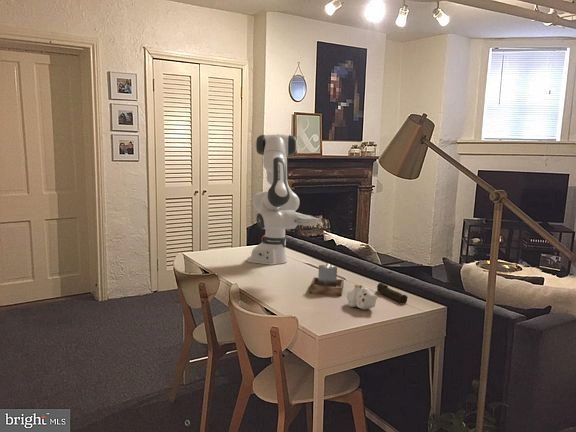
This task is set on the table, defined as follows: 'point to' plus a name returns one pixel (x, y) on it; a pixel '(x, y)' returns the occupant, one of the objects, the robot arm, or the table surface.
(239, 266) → the table surface
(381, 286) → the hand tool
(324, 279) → the gravel tin
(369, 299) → the cat figurine
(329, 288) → the walnut tray
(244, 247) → the table surface
